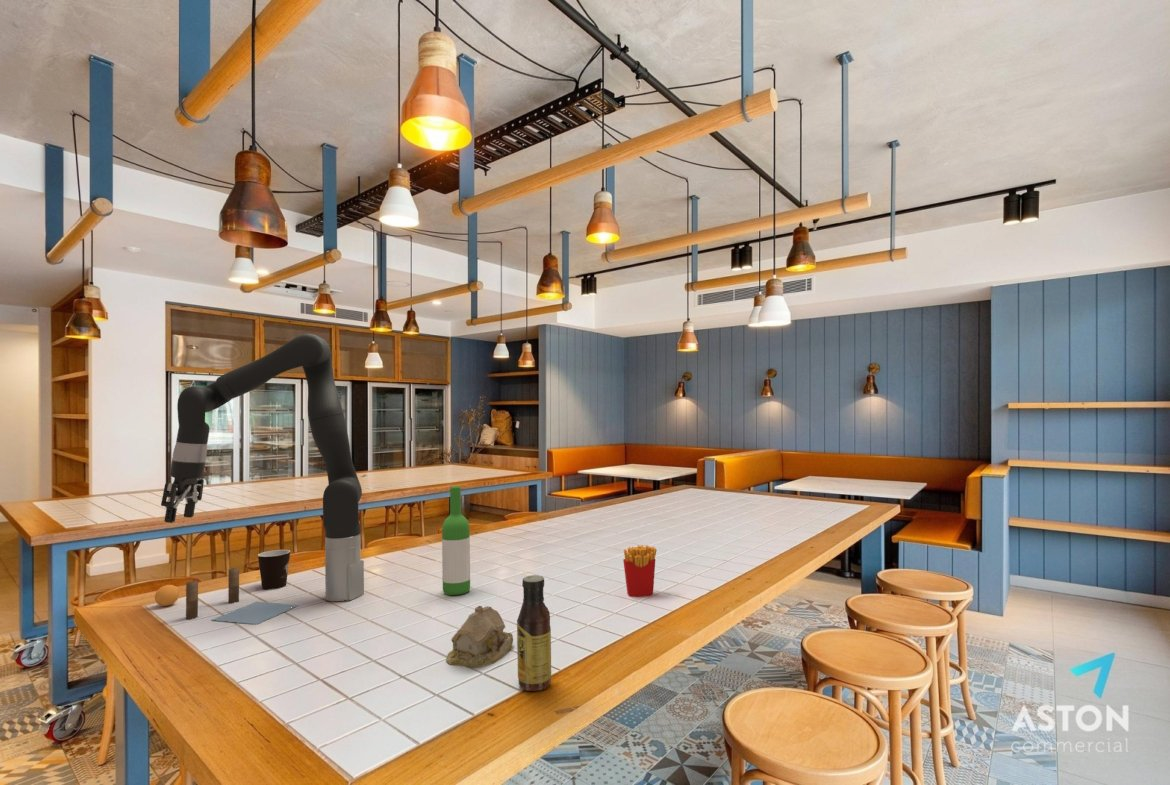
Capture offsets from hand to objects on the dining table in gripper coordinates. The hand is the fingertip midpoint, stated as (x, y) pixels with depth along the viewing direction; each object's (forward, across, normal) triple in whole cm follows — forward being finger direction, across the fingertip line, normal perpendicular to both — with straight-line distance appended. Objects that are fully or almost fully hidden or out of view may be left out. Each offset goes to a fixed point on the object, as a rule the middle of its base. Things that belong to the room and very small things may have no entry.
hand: (179, 519), depth 151 cm
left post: (+23, -7, -10) cm, 26 cm away
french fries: (+7, -10, -126) cm, 127 cm away
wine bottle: (+14, +2, -76) cm, 77 cm away
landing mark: (+21, -6, -26) cm, 33 cm away
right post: (+22, +5, -15) cm, 27 cm away
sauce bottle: (+12, -58, -96) cm, 113 cm away
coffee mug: (+21, +20, -21) cm, 36 cm away
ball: (+22, +5, +2) cm, 22 cm away
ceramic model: (+14, -42, -85) cm, 96 cm away
